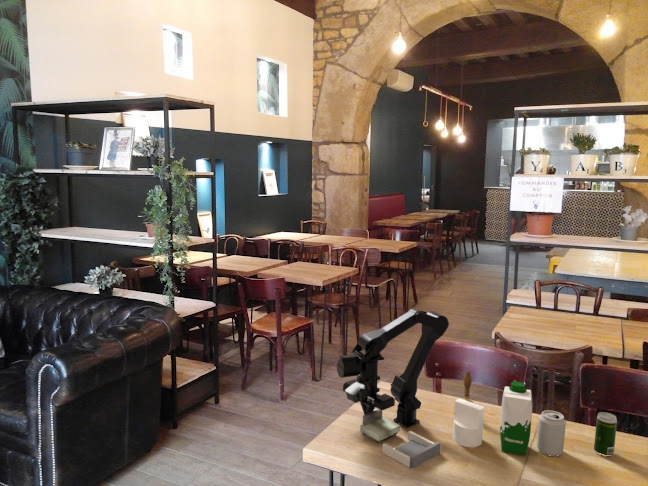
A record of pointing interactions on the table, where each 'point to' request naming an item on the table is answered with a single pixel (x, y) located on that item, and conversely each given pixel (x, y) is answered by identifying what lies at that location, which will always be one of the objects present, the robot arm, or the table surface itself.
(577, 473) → the table surface
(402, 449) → the tray
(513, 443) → the milk carton
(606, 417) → the beer can
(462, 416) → the cylinder with rectangular tab
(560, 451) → the can
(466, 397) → the hand bell
